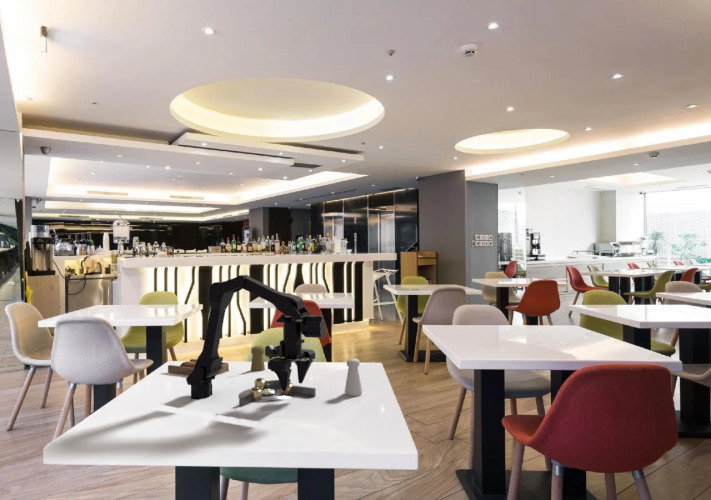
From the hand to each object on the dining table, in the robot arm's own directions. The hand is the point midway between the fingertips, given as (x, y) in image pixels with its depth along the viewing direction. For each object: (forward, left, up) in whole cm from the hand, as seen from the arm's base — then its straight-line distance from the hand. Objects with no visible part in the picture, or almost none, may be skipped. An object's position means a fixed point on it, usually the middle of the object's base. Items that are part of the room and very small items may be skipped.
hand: (292, 387), depth 142 cm
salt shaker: (+17, -13, -7) cm, 22 cm away
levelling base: (+3, +13, -7) cm, 15 cm away
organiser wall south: (+25, +51, -7) cm, 57 cm away
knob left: (+12, +16, -5) cm, 20 cm away
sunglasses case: (+26, +61, -7) cm, 67 cm away
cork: (+32, +37, -7) cm, 49 cm away
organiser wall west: (+19, +62, -7) cm, 65 cm away
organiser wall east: (+31, +62, -7) cm, 69 cm away
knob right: (+9, +3, -5) cm, 11 cm away
